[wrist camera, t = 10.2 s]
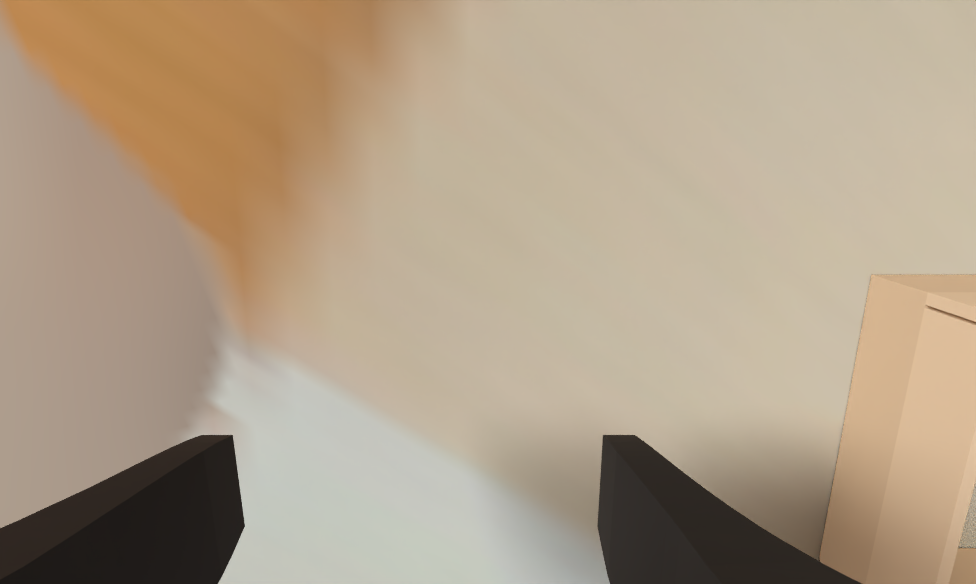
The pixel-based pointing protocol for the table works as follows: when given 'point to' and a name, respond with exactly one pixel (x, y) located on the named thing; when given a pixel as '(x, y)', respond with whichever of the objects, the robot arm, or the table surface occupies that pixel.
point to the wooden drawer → (908, 437)
